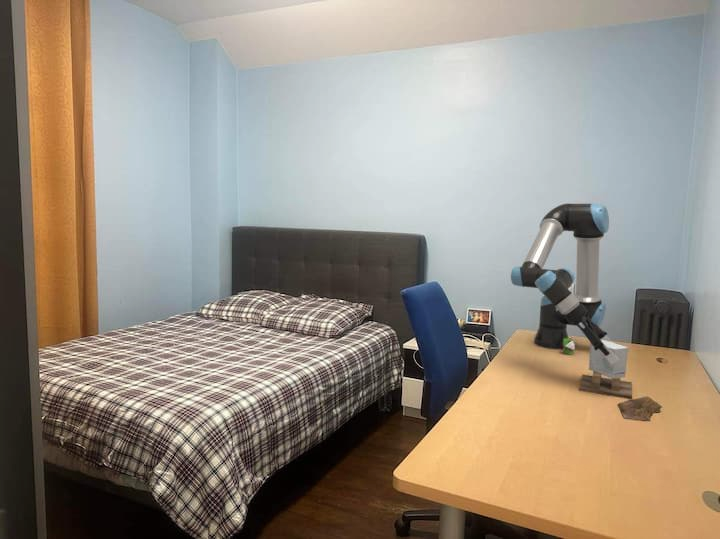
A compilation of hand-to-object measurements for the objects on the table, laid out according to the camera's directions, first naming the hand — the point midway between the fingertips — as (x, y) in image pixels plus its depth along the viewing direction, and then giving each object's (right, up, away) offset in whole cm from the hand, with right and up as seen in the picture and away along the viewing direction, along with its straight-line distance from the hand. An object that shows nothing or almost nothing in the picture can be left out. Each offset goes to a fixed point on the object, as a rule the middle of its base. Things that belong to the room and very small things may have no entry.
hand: (615, 357), depth 174 cm
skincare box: (-2, -6, +2) cm, 7 cm away
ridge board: (-2, -11, +2) cm, 11 cm away
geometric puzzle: (+2, -6, +45) cm, 45 cm away
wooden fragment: (0, -14, -15) cm, 21 cm away
